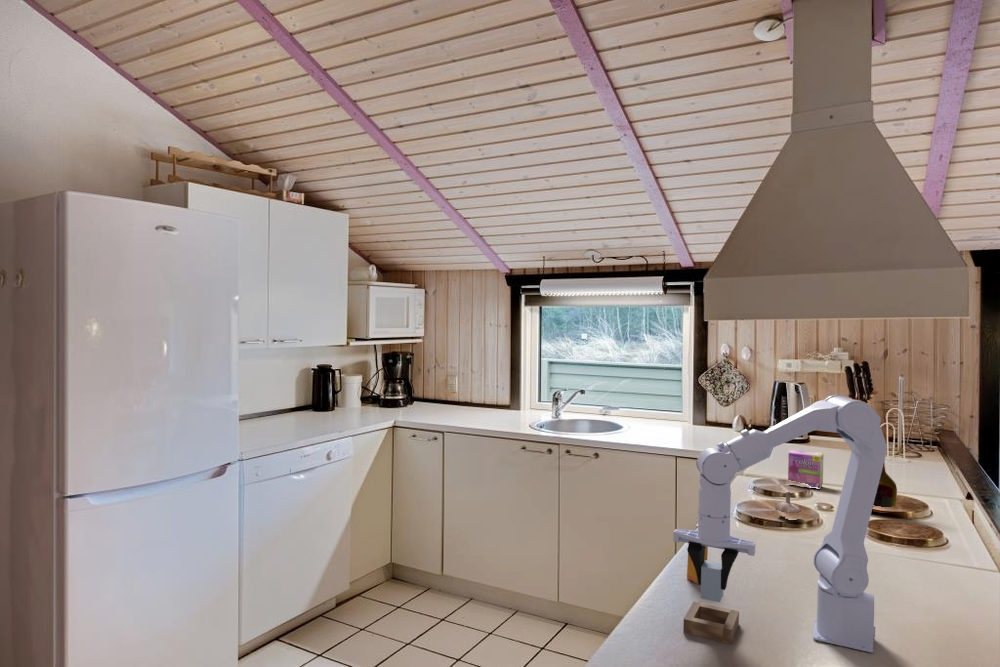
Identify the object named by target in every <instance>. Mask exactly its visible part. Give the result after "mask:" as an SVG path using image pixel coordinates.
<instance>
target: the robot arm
mask: <svg viewBox="0 0 1000 667" xmlns="http://www.w3.org/2000/svg"><path fill="white" fill-rule="evenodd" d="M881 421H882V417H881V416H880V415H879V413H877V411H875V409H874V408H873V407H872V406H871V405H870V404H868V403H867V402H865V401H862V400H855V399H852V398H849V397H847V396H845V395H842V394H841V395H840V394H833V395H829V396H827V397H826V398H824V399H821V400H818V401H815V402H814V403H812V404H810V405H808V406H807V407H805V408H804V409H802V410H799V412H796V413H794V414H793V415H791V416H789V417H788V418H786V419H784V420H781V421H780V422H778V423H777V424H775V425H773V426H771V427H769V428H767V429H766V430H763V431H761V430H758V429H754V428H752V429H751V430H749V429H746V428H745V429H742V430H741V431H740V432H739V433H740V435H738V436H736V437H734V438H732V439H731V440H728V441H726V442H724V443H723V441H720V442H718V443H716V444H717V445H716V446H717V447H708V448H706V449H703V450H702V451H701V452H700V454H699V455H698V457H697V460H696V461H695V464H696V465H695V466H696V468H697V470H698V471H699V473H700V474H699V482H698V483H699V487H698V506H697V507H698V508H697V510H698V511H697V513H698V514H697V530H689V529H688V530H687V529H678V528H675V529H674V531H673V535H672V537H673V540H672V541H673V542H674V543H687V544H688V547H687V548H686V550H687V555H688V554H689V556H690V558H691V560H692V562H693V565H694V567H695V571H696V574H697V579H698V583H697V585H698V586H699V585H700V586H701V566H702V565H703V563H704V555H705V546H708V547H709V548H715V549H721V550H723V551H722V552H721V555H720V556H721V558H720V560H721V563H722V578H721V589H722V590H724V591H725V590H726V589H727V586H728V580H729V576H730V573H731V569H732V567H733V565H734V562H735V561H736V559H737V557H738V555H739V553H742V554H747V556H753V557H754V556H755V555H756V544H757V543H756V542H755V541H750V540H746V539H742V538H738V537H735V536H732V535H731V504H732V503H731V501H732V500H731V498H732V490H731V481H733V479H734V478H735V476H736V474H737V473H740V472H742V471H744V470H746V469H748V468H750V467H752V466H754V465H756V464H758V463H761V462H762V461H764V460H766V459H768V458H770V457H771V455H772V452H773V449H774V448H776V447H777V446H778V447H779V446H780V445H783V444H785V443H788V442H789V441H792V440H795V439H797V438H800V437H801V436H803V435H806V434H809V433H812V432H813V431H821V432H828V433H829V432H831V433H838V434H839V435H840V437H841V438H842V439H843V440H844V442H845V443H846V444H847V446H848V447H849V448H850V450H851V452H850V456H849V459H848V464H847V468H846V469H847V470H846V473H845V477H844V480H843V485H842V489H841V492H840V496H839V500H838V504H837V508H836V513H835V517H834V520H833V525H832V529H831V531H830V532H829V533H827V534H826V535H825V536H824V537H823V540H822V544H821V545H820V547H819V548H818V549H817V550H816V551H815V552H814V555H813V564H814V565H813V566H814V568H815V569H816V571H817V572H818V573H819V577H818V580H817V597H816V598H817V599H816V600H817V601H816V619H815V620H814V625H813V626H814V627H813V632H812V633H813V635H812V639H813V640H815V641H819V642H823V643H828V644H833V645H837V646H841V647H845V648H850V649H855V650H859V651H863V652H868V653H874V638H876V626H875V595H874V594H871V593H868V592H865V591H866V589H867V588H868V585H869V582H870V581H869V580H870V577H869V573H868V563H869V557H868V553H867V550H866V547H865V539H866V535H867V532H868V527H869V523H870V519H871V515H872V513H873V512H872V508H873V504H874V500H875V496H876V492H877V488H878V484H879V480H880V476H881V472H882V468H883V464H884V462H885V461H884V460H886V455H887V453H888V452H887V450H888V445H887V442H886V439H885V437H884V433H883V431H882V426H881Z"/></svg>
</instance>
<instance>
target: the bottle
mask: <svg viewBox="0 0 1000 667" xmlns="http://www.w3.org/2000/svg"><path fill="white" fill-rule="evenodd" d="M885 460H886V459H885ZM885 460H884V464H883V468H882V472H881V476H880V480H879V484H878V488H877V492H876V496H875V500H874V504H873V505H875V506H881V507H892V506H895V507H896V503H897V497H898V488H897V484H896V482H895V481H894V479H892V477H891V476H890V475H888V473H887V471H886V465H885Z"/></svg>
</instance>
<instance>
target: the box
mask: <svg viewBox="0 0 1000 667" xmlns="http://www.w3.org/2000/svg"><path fill="white" fill-rule="evenodd" d="M787 456H788V457H787V458H788V459H787V460H788V464H787V466H788V467H787V481H788V480H791V481H796V482H800V483H805V484H808V485H809V486H811V487H818V488H821V486H822V484H823V485H824V453H821V452H813V451H804V450H803V451H802V450H796V449H795V450H793V449H791V450H789V451H788V455H787ZM821 489H822V488H821Z"/></svg>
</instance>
